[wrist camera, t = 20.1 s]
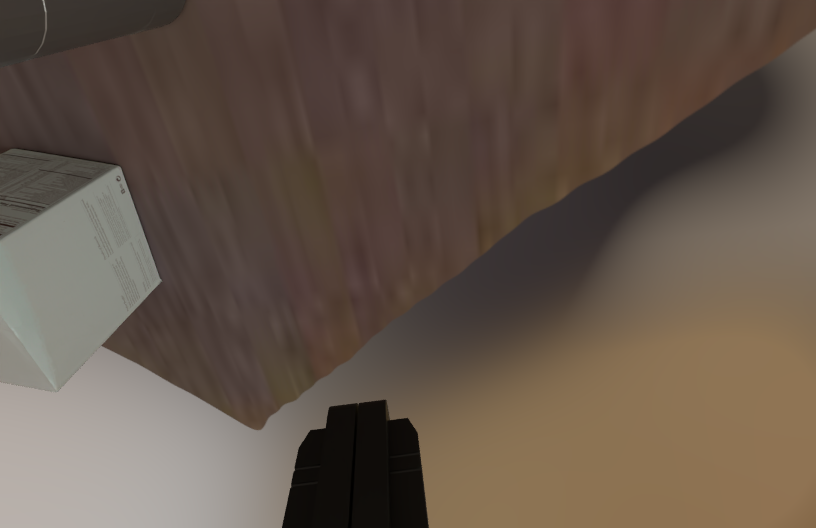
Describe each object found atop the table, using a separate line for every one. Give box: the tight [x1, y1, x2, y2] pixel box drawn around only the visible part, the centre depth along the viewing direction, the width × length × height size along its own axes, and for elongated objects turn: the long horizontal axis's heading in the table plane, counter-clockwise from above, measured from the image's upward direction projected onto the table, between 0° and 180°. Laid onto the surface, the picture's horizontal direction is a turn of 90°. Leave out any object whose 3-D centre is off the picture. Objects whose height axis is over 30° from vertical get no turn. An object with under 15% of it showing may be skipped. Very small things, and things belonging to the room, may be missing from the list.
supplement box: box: [0, 149, 162, 392], centre depth 44 cm, size 17×13×18 cm
